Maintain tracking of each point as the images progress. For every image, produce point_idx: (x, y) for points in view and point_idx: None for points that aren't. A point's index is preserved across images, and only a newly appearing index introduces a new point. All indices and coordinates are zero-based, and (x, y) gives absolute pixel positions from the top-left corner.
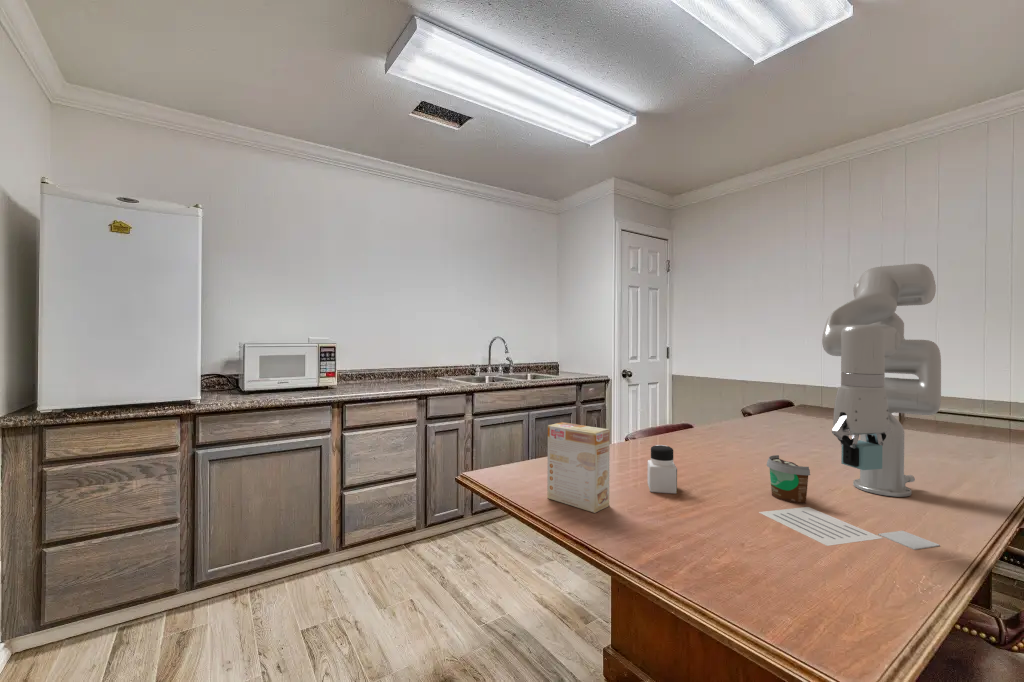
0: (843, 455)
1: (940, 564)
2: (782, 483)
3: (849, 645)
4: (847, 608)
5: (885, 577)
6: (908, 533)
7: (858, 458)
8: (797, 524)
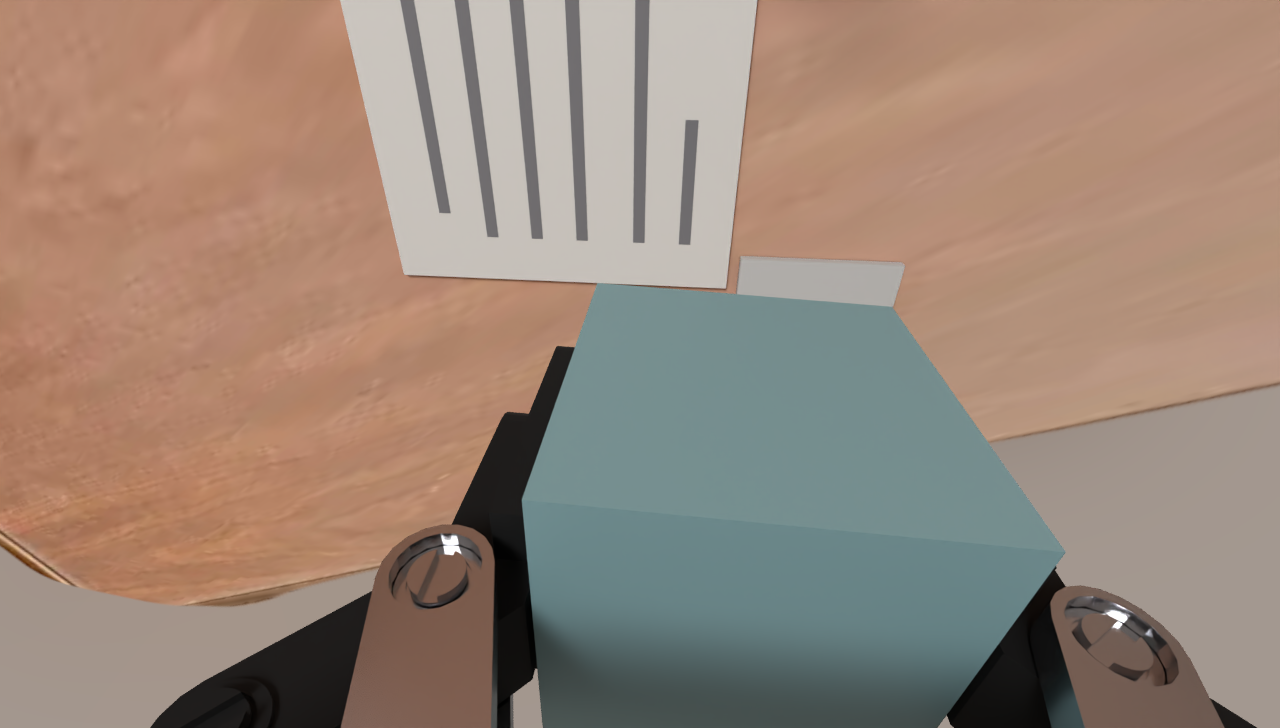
0: (538, 398)
1: None
2: None
3: (156, 566)
4: (224, 509)
5: (438, 459)
6: (886, 296)
7: None
8: (428, 26)
